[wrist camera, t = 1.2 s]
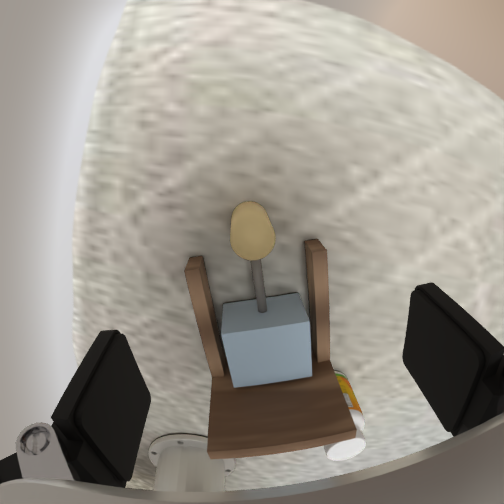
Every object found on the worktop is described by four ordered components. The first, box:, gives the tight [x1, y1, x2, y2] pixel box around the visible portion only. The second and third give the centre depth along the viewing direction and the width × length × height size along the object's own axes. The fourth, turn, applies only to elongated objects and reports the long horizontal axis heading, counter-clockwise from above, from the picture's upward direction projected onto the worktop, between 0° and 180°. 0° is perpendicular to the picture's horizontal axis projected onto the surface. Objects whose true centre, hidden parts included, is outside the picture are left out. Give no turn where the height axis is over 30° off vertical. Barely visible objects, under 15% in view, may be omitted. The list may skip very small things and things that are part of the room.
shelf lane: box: [184, 239, 357, 460], centre depth 24 cm, size 12×11×12 cm
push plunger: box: [221, 201, 312, 388], centre depth 26 cm, size 15×7×6 cm, turn 8°
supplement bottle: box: [324, 371, 366, 461], centre depth 29 cm, size 5×5×10 cm
